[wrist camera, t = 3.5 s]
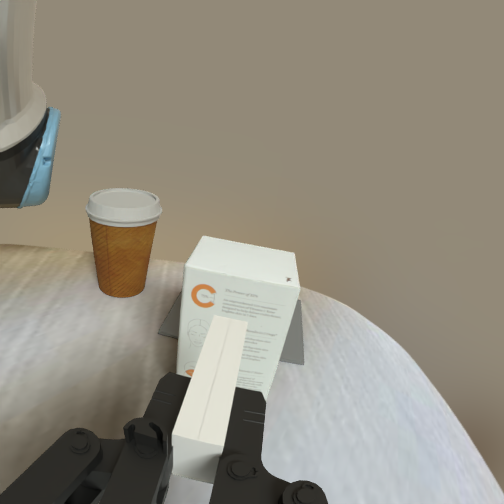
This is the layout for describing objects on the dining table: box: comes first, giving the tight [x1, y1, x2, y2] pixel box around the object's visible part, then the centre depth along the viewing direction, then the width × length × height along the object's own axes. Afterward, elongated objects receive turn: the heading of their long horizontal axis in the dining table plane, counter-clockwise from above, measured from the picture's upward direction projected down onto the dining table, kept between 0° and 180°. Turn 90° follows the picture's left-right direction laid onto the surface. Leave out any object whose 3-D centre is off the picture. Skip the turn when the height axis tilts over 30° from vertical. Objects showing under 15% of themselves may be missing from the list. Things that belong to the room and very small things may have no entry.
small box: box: [176, 236, 300, 401], centre depth 27 cm, size 8×6×13 cm
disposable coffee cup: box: [86, 188, 162, 298], centre depth 38 cm, size 10×10×12 cm
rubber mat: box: [158, 291, 304, 365], centre depth 40 cm, size 16×14×1 cm
